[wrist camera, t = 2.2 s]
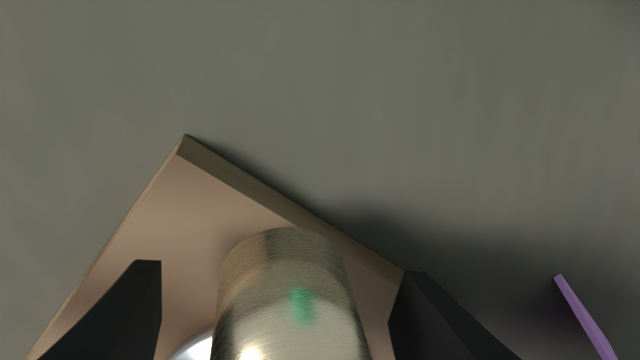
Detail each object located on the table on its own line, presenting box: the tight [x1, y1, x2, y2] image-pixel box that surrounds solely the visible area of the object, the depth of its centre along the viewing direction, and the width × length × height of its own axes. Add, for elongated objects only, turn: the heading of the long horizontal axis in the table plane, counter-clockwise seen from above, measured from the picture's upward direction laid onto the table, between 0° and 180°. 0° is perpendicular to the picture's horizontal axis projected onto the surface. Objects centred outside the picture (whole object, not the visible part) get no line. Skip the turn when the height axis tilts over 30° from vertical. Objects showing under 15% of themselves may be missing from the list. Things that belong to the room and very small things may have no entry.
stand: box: [24, 134, 404, 360], centre depth 16 cm, size 13×13×2 cm
